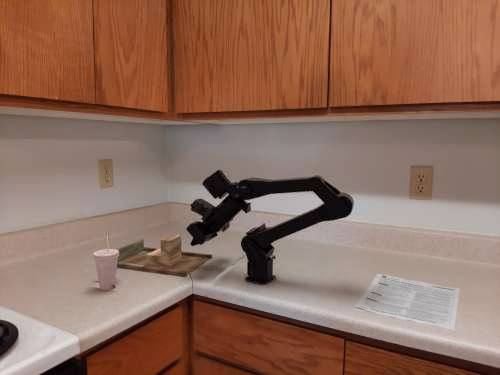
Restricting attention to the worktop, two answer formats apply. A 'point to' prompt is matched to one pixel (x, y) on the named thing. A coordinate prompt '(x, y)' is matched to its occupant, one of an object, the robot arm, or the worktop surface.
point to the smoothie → (106, 266)
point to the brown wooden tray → (137, 255)
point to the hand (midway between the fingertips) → (191, 244)
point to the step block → (166, 252)
